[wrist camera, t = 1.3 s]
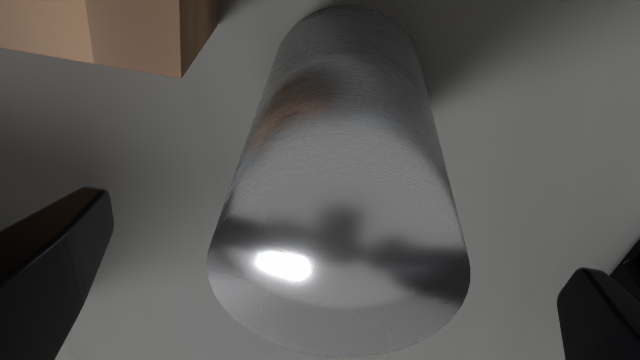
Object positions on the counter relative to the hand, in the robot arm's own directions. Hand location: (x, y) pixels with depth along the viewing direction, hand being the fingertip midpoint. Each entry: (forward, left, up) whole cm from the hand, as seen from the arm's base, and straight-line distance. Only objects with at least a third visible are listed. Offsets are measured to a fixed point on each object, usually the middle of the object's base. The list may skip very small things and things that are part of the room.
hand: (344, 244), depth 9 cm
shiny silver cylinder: (0, 0, -7) cm, 7 cm away
